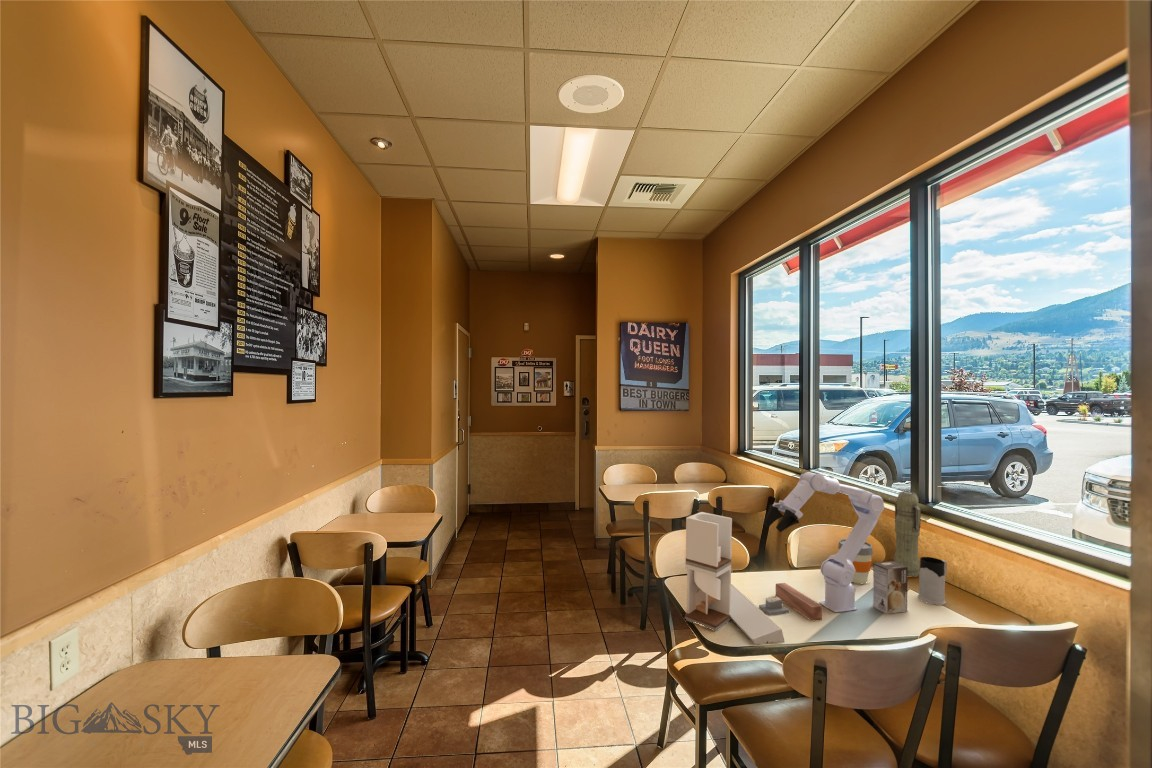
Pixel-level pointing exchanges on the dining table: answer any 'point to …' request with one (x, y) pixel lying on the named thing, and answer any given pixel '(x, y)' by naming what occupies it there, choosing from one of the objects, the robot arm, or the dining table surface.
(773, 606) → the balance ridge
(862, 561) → the reusable coffee cup
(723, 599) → the white tower model
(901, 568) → the coffee box
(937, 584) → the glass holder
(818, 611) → the mahogany rod
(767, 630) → the decorative molding
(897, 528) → the thermos
